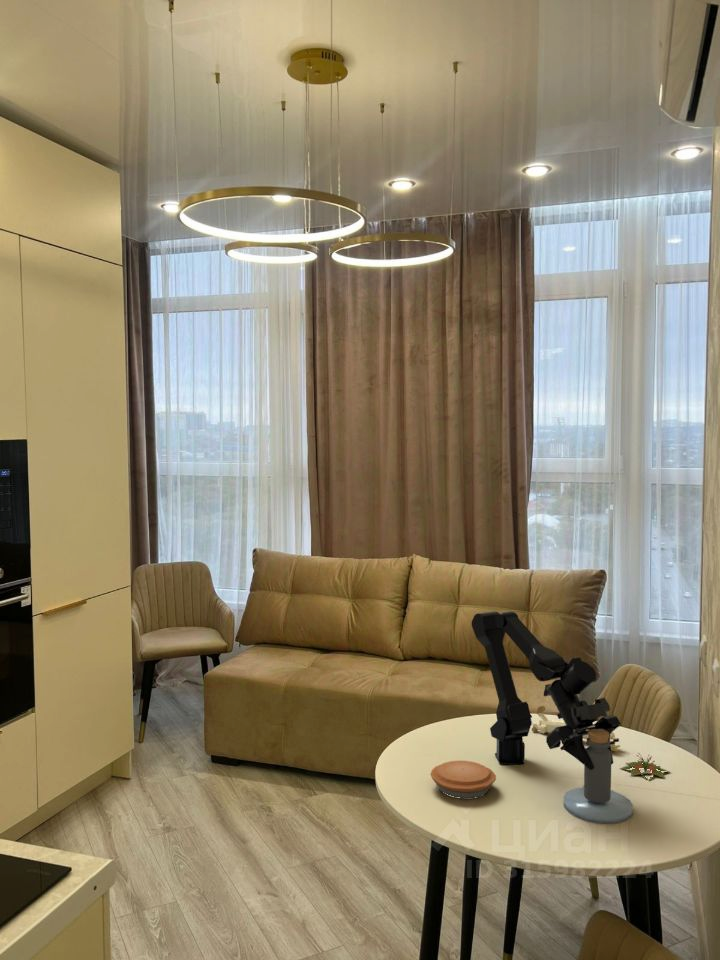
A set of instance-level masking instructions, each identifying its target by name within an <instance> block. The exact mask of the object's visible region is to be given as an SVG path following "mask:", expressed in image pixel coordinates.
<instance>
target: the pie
mask: <svg viewBox="0 0 720 960" xmlns="http://www.w3.org/2000/svg"><path fill="white" fill-rule="evenodd" d="M429 775H430V777H431V779H432V780H433V782H434V783H435V784H436V786H437V787H438V789H439V790H441V791H442V792H444V793H446V794H448V795H451V796H454V797H460V798H474V799H476V798H475V797H478V798H481V797H482V795H483V796H485V794H486V793H487V792H488V791H489V789H490V787H491V786H492V785H493V783H495V782H496V780H497V776H496V774H495V772H494V771H493V770H492V769H491V768H489V767H486V766H485V765H483V764H481V763H478V762H475V761H469V760H450V761H446V762H443V763H442V764H438V765H436V766H435V767H434V768H432V769H431V772H430V774H429ZM441 791H440V792H441ZM442 792H441V793H442ZM444 793H443V794H444ZM480 796H481V797H480Z"/></svg>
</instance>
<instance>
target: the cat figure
mask: <svg viewBox="0 0 720 960" xmlns="http://www.w3.org/2000/svg"><path fill="white" fill-rule="evenodd" d="M545 710H546V706H544V705H542V704H541V705H539V706H538V707H537V708H536V710H535V711H536V712H535V713H536V714H537V716H538V717H539V718H541V719H539V723H537V722H532V727H531V732H533V733H538V732H540V733H542V734H545V733H548V734H550V733H551V732H552V731H553V730H554V729H555V728H556V727H561V726H565V725H566V724H565V722H564V720H560V719H559V720H552V719H548V718H547V717H546V715H545V714H544V713H543V712H545ZM586 731H587V730H586ZM587 738H589V736H588V735H584V736H583V740H587ZM619 742H620V738H619V737H618V736H615V733H614V731H613V732H612V733H611V734H610V746H611V752H617V751H618V748H620V747H621V745H619V744H618V745H616V743H619Z"/></svg>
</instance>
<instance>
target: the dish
mask: <svg viewBox="0 0 720 960" xmlns="http://www.w3.org/2000/svg"><path fill="white" fill-rule="evenodd" d="M563 807H564V809H565V811H567V812H568V813H569V814H570V815H572V816H574V817H576V818H578V819H580V820H583V821H586V822H591V823H595V824H618V823H619V824H620V823H622V822H625V821H628V820H629V819H631V817H632V816H633V807H634V806H633V803H632V801H631V800H630V799H629V798H628V797H626V796H625V795H623V794H621V793H619V792H616V791H614V790H611V797H610V800H609V801H608V802H603V803H598V802H593V801H590V800H588V799H586V798H585V797H584V786H583V787H577V788H573V789H569V790H568V791H567V792H565V794H564V795H563Z"/></svg>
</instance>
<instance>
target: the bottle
mask: <svg viewBox="0 0 720 960" xmlns="http://www.w3.org/2000/svg"><path fill="white" fill-rule="evenodd" d="M588 736H589V738H587V739H586V745H587V746H588V747H585V749H586V751H587V753H588V755H589V757H590V759H591V761H592V764H593V766H594V769H592V770H590V769H589V768H587V767H586V766H585V765H584V764H583V766H584V767H583V768H584V769H583V770H584V772H583V773H584V774H583V787H584V797H585V798H586V799H588V800H590V801H593V802H598V803H603V802H608V801H609V800H610V797H611V791H612V765H611V752H612V751H611V752H610V751H609V750H608V749H607V748H608V747H609V746H610V741H609V740H608V738H609V733H608V732H607V731H605V730H601V729H591V730H589V731H588Z"/></svg>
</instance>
